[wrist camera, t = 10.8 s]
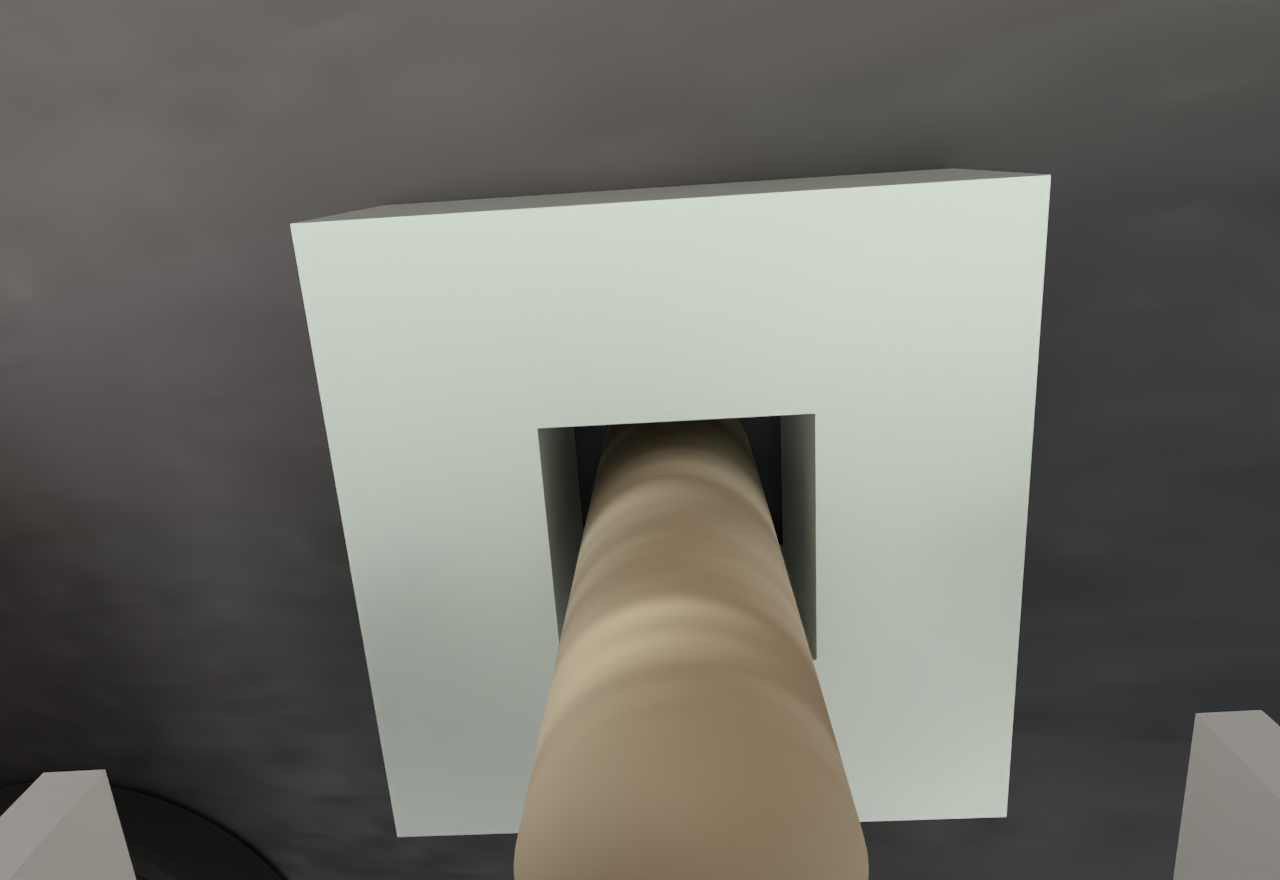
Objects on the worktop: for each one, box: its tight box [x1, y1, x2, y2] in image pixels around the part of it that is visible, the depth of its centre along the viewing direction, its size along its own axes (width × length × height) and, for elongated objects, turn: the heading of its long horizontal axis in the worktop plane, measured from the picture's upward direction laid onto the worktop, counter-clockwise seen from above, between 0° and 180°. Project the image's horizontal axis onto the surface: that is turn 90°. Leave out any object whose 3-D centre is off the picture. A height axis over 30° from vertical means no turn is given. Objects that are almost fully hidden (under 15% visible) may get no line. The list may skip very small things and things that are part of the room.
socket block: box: [290, 168, 1051, 837], centre depth 22 cm, size 14×14×6 cm
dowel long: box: [513, 418, 869, 880], centre depth 17 cm, size 4×4×15 cm
